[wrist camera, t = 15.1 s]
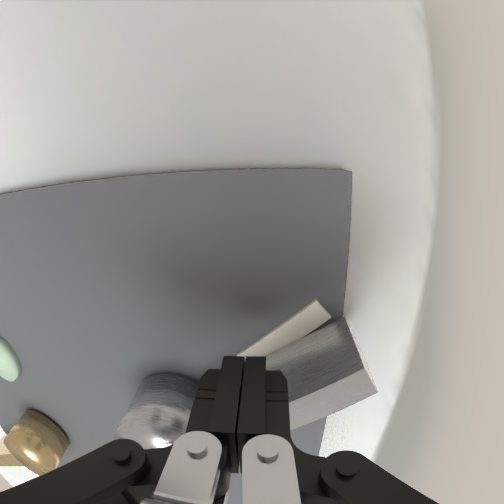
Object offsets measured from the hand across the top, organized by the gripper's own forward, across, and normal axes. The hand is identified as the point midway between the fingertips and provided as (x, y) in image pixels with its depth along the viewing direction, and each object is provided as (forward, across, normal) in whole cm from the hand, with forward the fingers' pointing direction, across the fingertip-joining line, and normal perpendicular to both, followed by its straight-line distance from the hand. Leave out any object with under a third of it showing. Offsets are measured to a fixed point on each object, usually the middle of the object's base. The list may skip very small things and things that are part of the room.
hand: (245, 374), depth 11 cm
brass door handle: (+4, +22, +16) cm, 27 cm away
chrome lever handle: (+4, +1, +4) cm, 6 cm away
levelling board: (+6, +12, +8) cm, 15 cm away
